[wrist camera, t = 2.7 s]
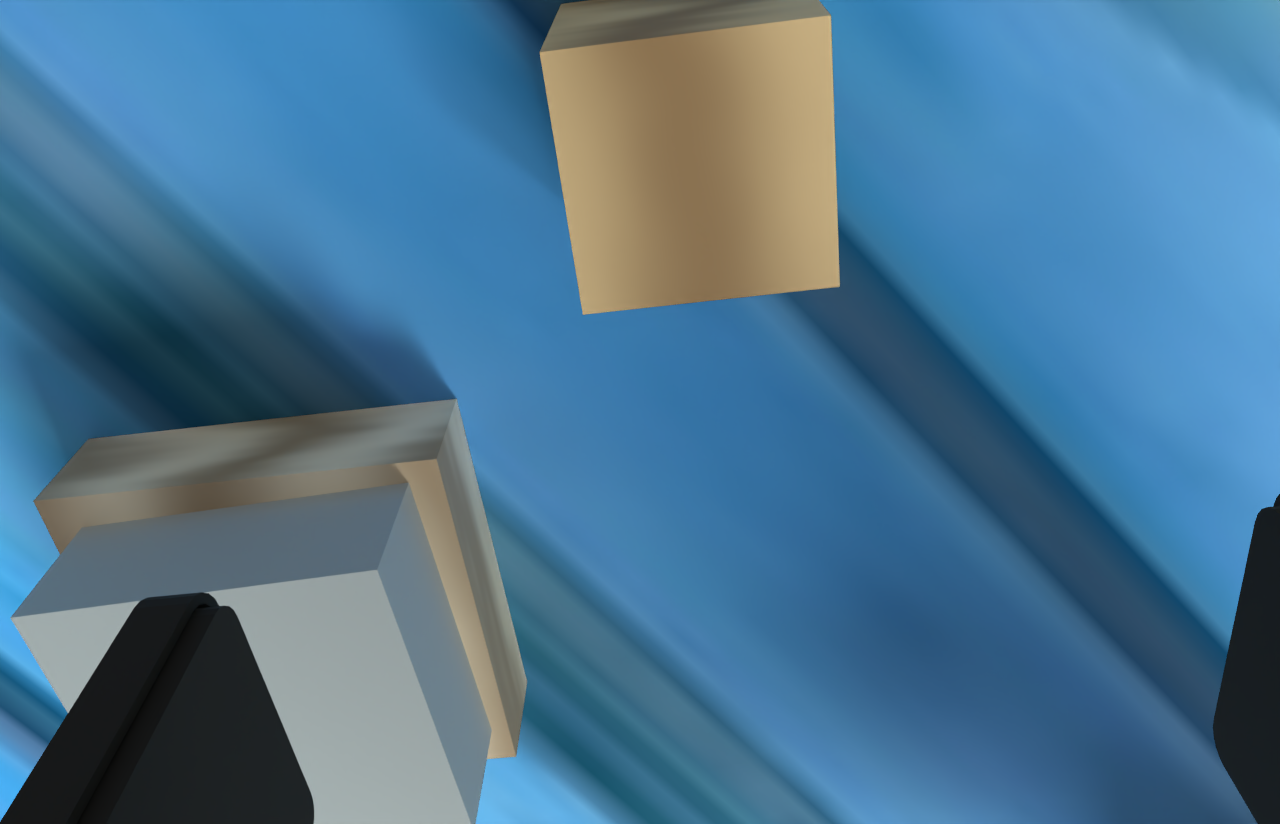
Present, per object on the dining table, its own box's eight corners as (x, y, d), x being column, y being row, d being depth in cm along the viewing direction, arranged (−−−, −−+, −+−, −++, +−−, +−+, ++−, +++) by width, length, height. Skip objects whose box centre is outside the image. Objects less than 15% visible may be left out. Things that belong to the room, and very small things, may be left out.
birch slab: (459, 390, 33) (436, 459, 30) (528, 672, 39) (515, 756, 36) (96, 430, 34) (33, 501, 31) (217, 699, 40) (175, 784, 37)
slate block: (408, 481, 30) (377, 569, 27) (491, 730, 35) (473, 831, 32) (81, 527, 31) (10, 617, 28) (206, 762, 36) (159, 864, 33)
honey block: (796, -28, 27) (830, 15, 22) (807, 201, 30) (840, 286, 25) (561, 3, 27) (539, 52, 22) (594, 225, 30) (582, 314, 25)
